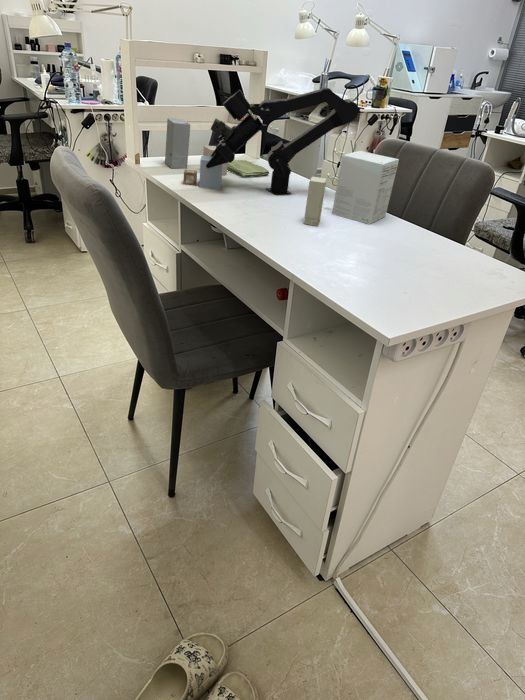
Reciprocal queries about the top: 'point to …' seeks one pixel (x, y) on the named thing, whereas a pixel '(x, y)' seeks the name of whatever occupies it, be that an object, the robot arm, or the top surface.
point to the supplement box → (364, 186)
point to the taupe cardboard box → (207, 152)
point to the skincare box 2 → (314, 200)
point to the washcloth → (246, 168)
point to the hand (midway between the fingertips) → (207, 164)
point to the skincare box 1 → (177, 143)
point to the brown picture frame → (190, 177)
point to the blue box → (210, 174)
